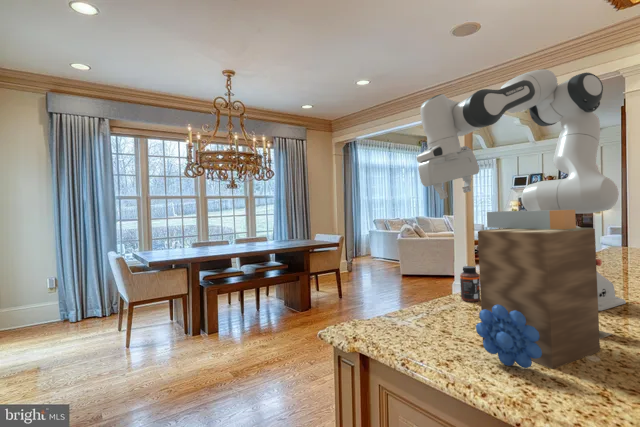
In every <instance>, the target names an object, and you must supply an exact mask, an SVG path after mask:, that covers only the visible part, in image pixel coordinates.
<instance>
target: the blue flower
mask: <svg viewBox="0 0 640 427" xmlns="http://www.w3.org/2000/svg"><path fill="white" fill-rule="evenodd" d="M478 313H479V314H478V315H479V320H480V321H481V322H478V323H476V325H475V330H476V333H477V334H478V336H480V337H481V338H482V339H483V338H486V339H484V341H483V340H482V344H483V346H482V347H483V348H484V350H485V351H486V352H487V353H489V354H490V355H496V354H497V358H498V359H499V361H500V362H501V363H502V364H503V365H505V366H507V367H510V366H513V365H515V363H516V364H517V365H518V366H519V367H521V368H524V369H527V368H531V367H532V364H533V361H531V358H534V359H536V358H540V357H541V355H542V351H541V348H540V347H539V346H538V345H537V344H536V343H534V342H536V341H538V340H539V338H540V336H539V332H538V331H537V330H536V329H535V328H534V327H533V326H530V325H525V324H526V318H525V316H524V315H523V314H522V313H521V312H519V311H516V310H514V311H511V312H510V313H509V314H508V311H507V309H506V308H505V307H504V306H501V305H498V304H497V305H494V306H493V307H492V312H491V311H489V310H486V309H484V310H480V311H479V312H478ZM482 322H483V323H482ZM530 357H531V358H530Z"/></svg>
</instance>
